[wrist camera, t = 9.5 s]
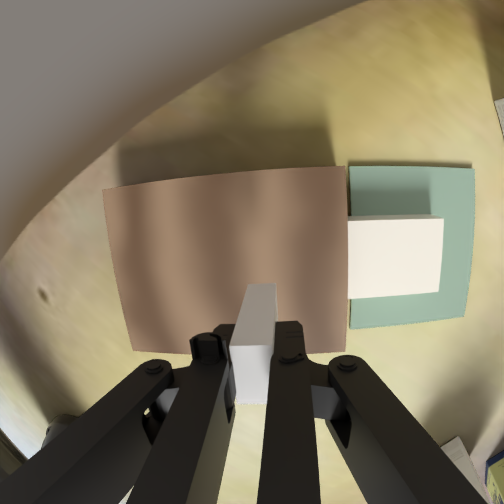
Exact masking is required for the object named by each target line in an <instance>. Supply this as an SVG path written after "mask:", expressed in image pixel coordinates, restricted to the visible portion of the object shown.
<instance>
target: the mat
mask: <svg viewBox="0 0 504 504" xmlns="http://www.w3.org/2000/svg"><path fill="white" fill-rule="evenodd" d="M349 183H350V205H351V216H366V215H406V214H432V215H435V216H438V217H441V218H444V230H443V249H442V262H441V273H440V283H439V291H438V292H432V293H421V294H410V295H398V296H385V297H372V298H357V299H351V307H350V329H363V328H374V327H385V326H395V325H404V324H413V323H421V322H429V321H437V320H444V319H451V318H458V317H464V313H465V308H466V302H467V295H468V288H469V281H470V273H471V264H472V253H473V241H474V222H475V169H468V168H449V167H421V166H349Z"/></svg>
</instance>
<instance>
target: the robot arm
mask: <svg viewBox="0 0 504 504" xmlns="http://www.w3.org/2000/svg"><path fill="white" fill-rule="evenodd" d="M189 342H190V348H191V353H192V358H193V360H192V362H191V364H190V366H188V367H183V368H177V369H172V366H171V364H170V363H169V362H168V361H166V360H161V359H155V360H154V359H153V360H150V361H147V362H144V363H143V364H141V365H140V366H138V367H137V368H136V369H135V370H134V371H133V372H132V373H130V374H129V375H128V376H127V377H126V378H125V379H123V380H122V381H121V382H120V383H119V384H118V385H116V386H115V387H114V388H113V389H112V390H111V391H109V392H108V393H107V394H106V395H105V396H103V397H102V398H101V399H100V400H99V401H98V402H96V403H95V404H94V405H93V406H92V407H91V408H89V409H88V410H87V411H86V412H85V413H84V414H82V415H81V416H80V417H79V418H77V417H74V416H70V415H59V416H57V417H55V419H54V420H53V421H52V422H51V423H50V424H49V426H48V428H47V431H46V437H45V439H44V441H43V444H42V447H41V450H40V451H38V452H37V453H36V454H35V455H34V456H32V457H31V458H30V459H29V460H28V458H27V457H26V456H25V455H24V454H23V453H22V452H21V451H20V450H19V449H18V448H17V447H16V446H15V445H14V444H13V442H12V441H11V440H10V439H9V438H8V437H7V436H6V434H5V433H4V432H3V431H2V430H1V428H0V504H119V502H120V501H121V500H122V499H123V498H124V497H125V495H126V494H127V493H128V492H129V491H130V489H131V488H132V487H133V486H134V487H133V489H132V491H131V494H130V496H129V498H128V500H127V502H126V504H217V499H218V494H219V490H220V485H221V480H222V476H223V471H224V466H225V461H226V456H227V452H228V447H229V442H230V437H231V432H232V427H233V422H234V418H235V413H236V412H235V405H234V401H235V396H236V400H237V404H267V407H266V418H265V429H264V439H263V449H262V459H261V469H260V479H259V488H258V497H257V504H321V498H320V483H319V469H318V456H317V444H316V432H315V421H314V418H321V419H325V423H326V425H327V427H328V429H329V431H330V433H331V435H332V437H333V439H334V441H335V443H336V445H337V446H338V448H339V450H340V452H341V454H342V456H343V458H344V460H345V462H346V464H347V466H348V467H349V469H350V471H351V473H352V475H353V477H354V479H355V481H356V483H357V485H358V486H359V488H360V490H361V492H362V494H363V496H364V498H365V500H366V501H367V503H368V504H488V503H487V502H486V501H485V500H484V499H483V497H482V496H481V495H480V494H479V493H478V491H477V490H476V489H475V488H474V487H473V486H472V484H471V483H470V482H469V481H468V480H467V478H466V477H465V476H464V475H463V474H462V473H461V471H460V470H459V469H458V468H457V467H456V465H455V464H454V463H453V462H452V461H451V460H450V458H449V457H448V456H447V455H446V454H445V453H444V451H443V450H442V449H441V448H440V447H439V446H438V444H437V443H436V442H435V441H434V440H433V439H432V437H431V436H430V435H429V434H428V433H427V432H426V430H425V429H424V428H423V427H422V426H421V425H420V424H419V422H418V421H417V420H416V419H415V418H414V417H413V415H412V414H411V413H410V412H409V411H408V410H407V409H406V407H405V406H404V405H403V404H402V403H401V402H400V401H399V399H398V398H397V397H396V396H395V395H394V394H393V392H392V391H391V390H390V389H389V388H388V387H387V386H386V384H385V383H384V382H383V381H382V380H381V379H380V378H379V376H378V375H377V374H376V373H375V372H374V371H373V370H372V369H371V367H370V366H369V365H368V364H367V363H366V362H365V361H364V360H363V359H362V358H360V357H357V356H354V355H342V356H338V357H335V358H333V359H332V360H331V361H330V362H329V364H328V365H322V364H317V363H315V362H312V361H311V360H309V359H308V357H307V355H306V350H305V341H304V333H303V325H302V324H301V323H299V322H298V321H278V308H277V291H276V283H263V284H248V286H247V290H246V293H245V296H244V299H243V303H242V306H241V309H240V312H239V316H238V319H237V322H236V324H220V325H218V326H217V327H216V328H215V329H214V330H213V332H205V333H201V334H197V335H195V336H193V337H192V338H191V339H190V340H189ZM147 408H149V411H150V412H149V413H148V414H146V415H144V412H145V410H146V409H147Z"/></svg>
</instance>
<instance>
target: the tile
mask: <svg viewBox="0 0 504 504" xmlns="http://www.w3.org/2000/svg"><path fill="white" fill-rule="evenodd" d="M443 230H444V218H441V217H438V216H435V215H432V214H406V215H366V216H348V299H357V298H372V297H385V296H398V295H410V294H421V293H432V292H438V291H439V283H440V273H441V262H442V249H443Z"/></svg>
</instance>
